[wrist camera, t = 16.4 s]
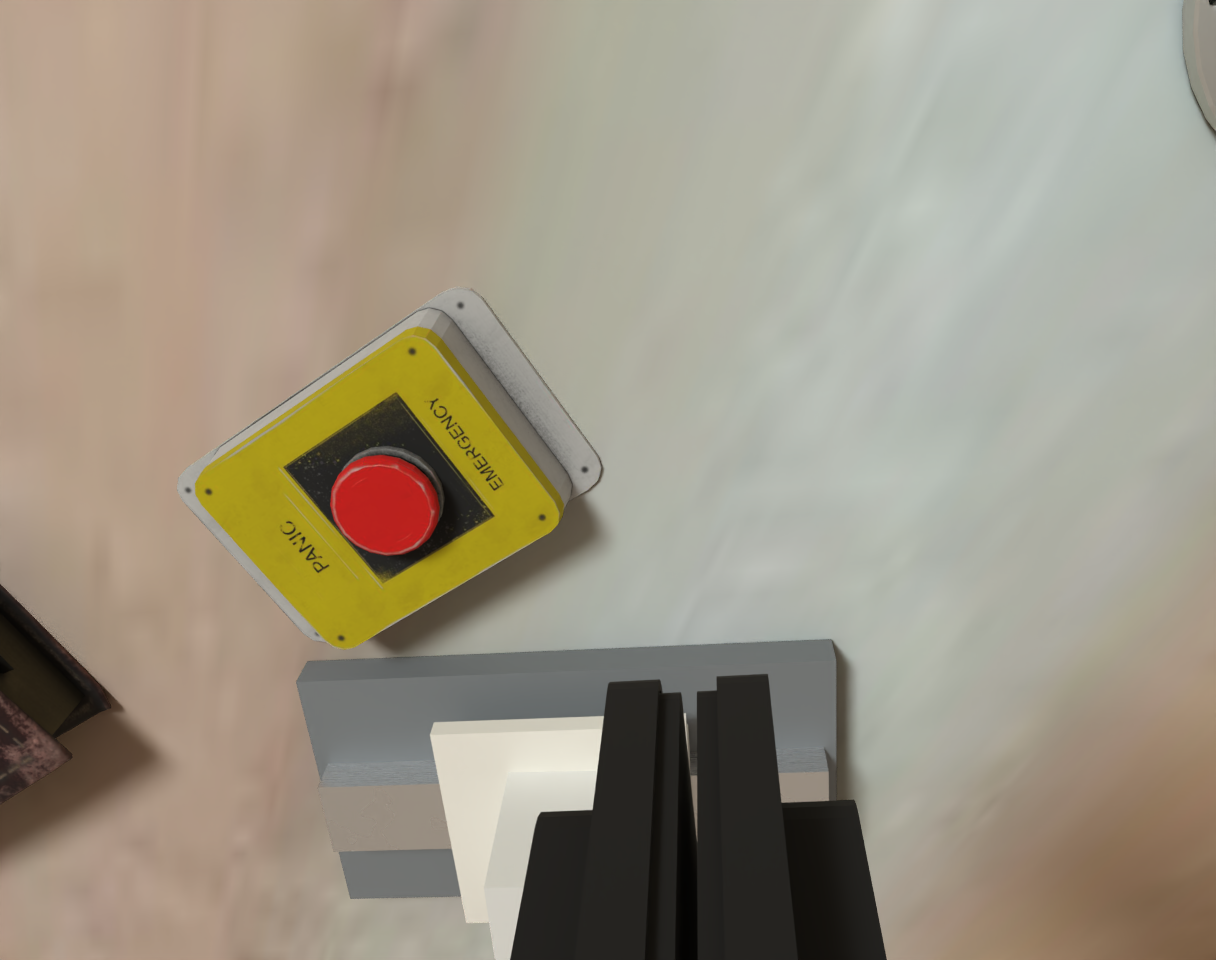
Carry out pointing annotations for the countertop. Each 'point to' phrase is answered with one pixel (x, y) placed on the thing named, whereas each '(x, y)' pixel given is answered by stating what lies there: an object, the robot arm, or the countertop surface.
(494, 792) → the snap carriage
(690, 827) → the robot arm
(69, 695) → the diary
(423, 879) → the rail mount
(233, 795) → the countertop surface
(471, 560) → the emergency button
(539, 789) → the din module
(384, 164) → the countertop surface
